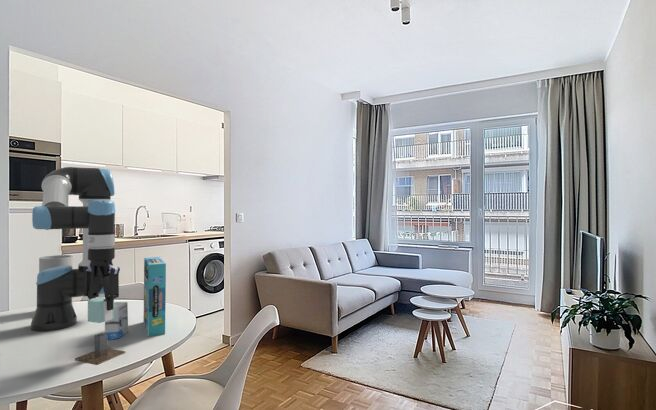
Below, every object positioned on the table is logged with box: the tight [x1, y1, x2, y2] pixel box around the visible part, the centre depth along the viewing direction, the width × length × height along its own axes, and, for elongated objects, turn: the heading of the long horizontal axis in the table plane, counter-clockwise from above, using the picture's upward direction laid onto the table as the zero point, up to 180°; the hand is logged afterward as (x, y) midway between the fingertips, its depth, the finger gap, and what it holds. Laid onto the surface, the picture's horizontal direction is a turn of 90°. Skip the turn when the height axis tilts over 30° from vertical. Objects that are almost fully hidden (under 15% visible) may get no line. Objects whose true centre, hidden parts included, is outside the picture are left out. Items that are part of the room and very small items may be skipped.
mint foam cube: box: [87, 296, 115, 324], centre depth 123 cm, size 5×5×7 cm
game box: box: [143, 256, 167, 337], centre depth 151 cm, size 20×6×27 cm, turn 30°
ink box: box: [104, 301, 129, 340], centre depth 142 cm, size 9×5×12 cm, turn 5°
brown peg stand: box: [74, 332, 127, 365], centre depth 123 cm, size 10×10×7 cm
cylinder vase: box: [38, 254, 74, 273], centre depth 174 cm, size 12×12×25 cm
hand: (101, 319), depth 123 cm, fingers closed on mint foam cube, 5 cm apart
